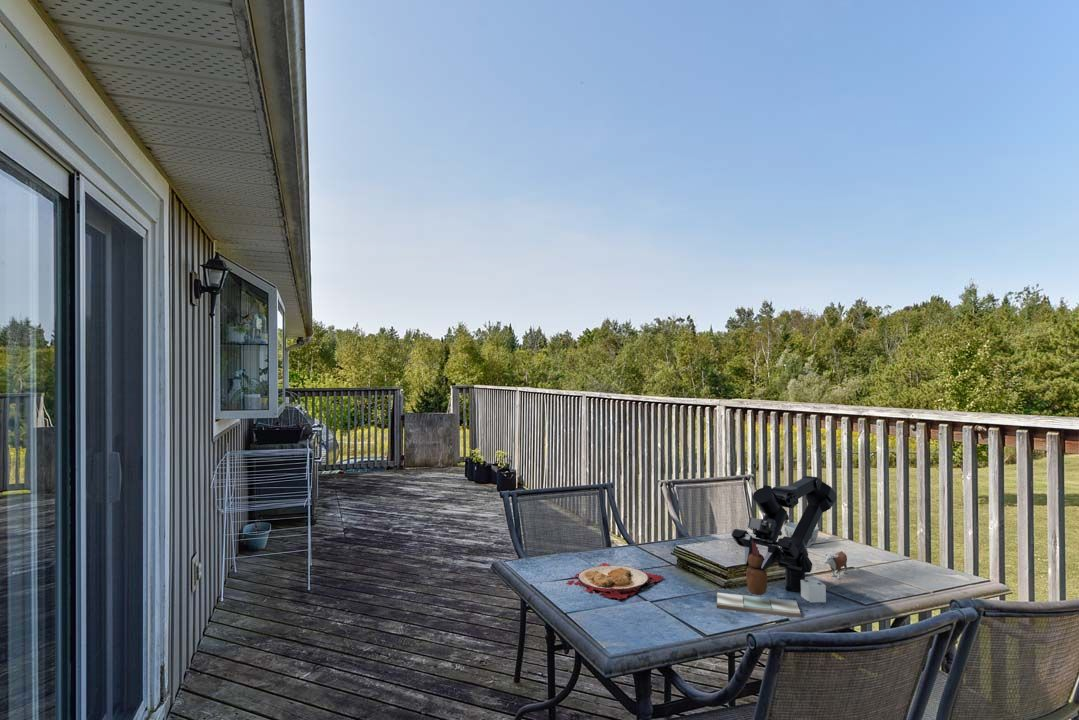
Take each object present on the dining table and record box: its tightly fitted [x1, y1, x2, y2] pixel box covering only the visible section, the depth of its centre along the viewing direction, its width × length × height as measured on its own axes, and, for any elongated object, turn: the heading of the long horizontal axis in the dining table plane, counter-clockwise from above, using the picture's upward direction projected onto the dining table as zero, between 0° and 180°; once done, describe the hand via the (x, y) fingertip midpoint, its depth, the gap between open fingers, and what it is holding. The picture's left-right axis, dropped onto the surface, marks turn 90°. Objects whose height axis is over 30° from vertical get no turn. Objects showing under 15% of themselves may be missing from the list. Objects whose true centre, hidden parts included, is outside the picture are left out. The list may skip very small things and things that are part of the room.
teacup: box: [783, 522, 820, 548], centre depth 230 cm, size 15×12×8 cm
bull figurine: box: [823, 550, 848, 580], centre depth 192 cm, size 4×13×8 cm, turn 132°
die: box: [800, 579, 827, 603], centre depth 172 cm, size 5×5×5 cm
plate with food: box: [565, 562, 665, 600], centre depth 187 cm, size 25×26×4 cm
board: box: [716, 592, 802, 618], centre depth 166 cm, size 10×22×1 cm, turn 73°
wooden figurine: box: [745, 539, 768, 596], centre depth 167 cm, size 7×6×15 cm
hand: (754, 567), depth 166 cm, fingers closed on wooden figurine, 5 cm apart
